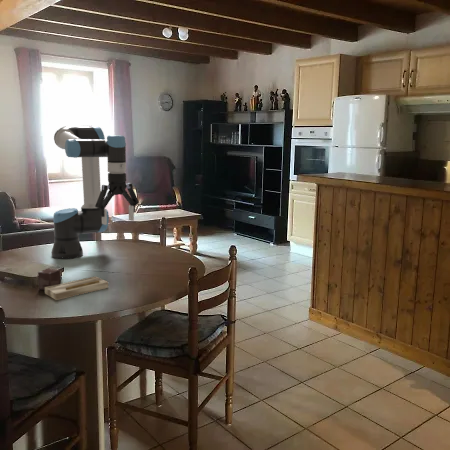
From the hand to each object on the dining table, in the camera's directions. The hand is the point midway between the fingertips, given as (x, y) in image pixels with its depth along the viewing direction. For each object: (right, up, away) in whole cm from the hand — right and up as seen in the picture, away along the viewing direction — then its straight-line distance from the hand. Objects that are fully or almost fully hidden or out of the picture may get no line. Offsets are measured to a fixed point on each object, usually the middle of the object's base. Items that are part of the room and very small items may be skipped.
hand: (118, 222), depth 204 cm
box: (-25, -27, -12) cm, 39 cm away
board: (-13, -27, -14) cm, 34 cm away
